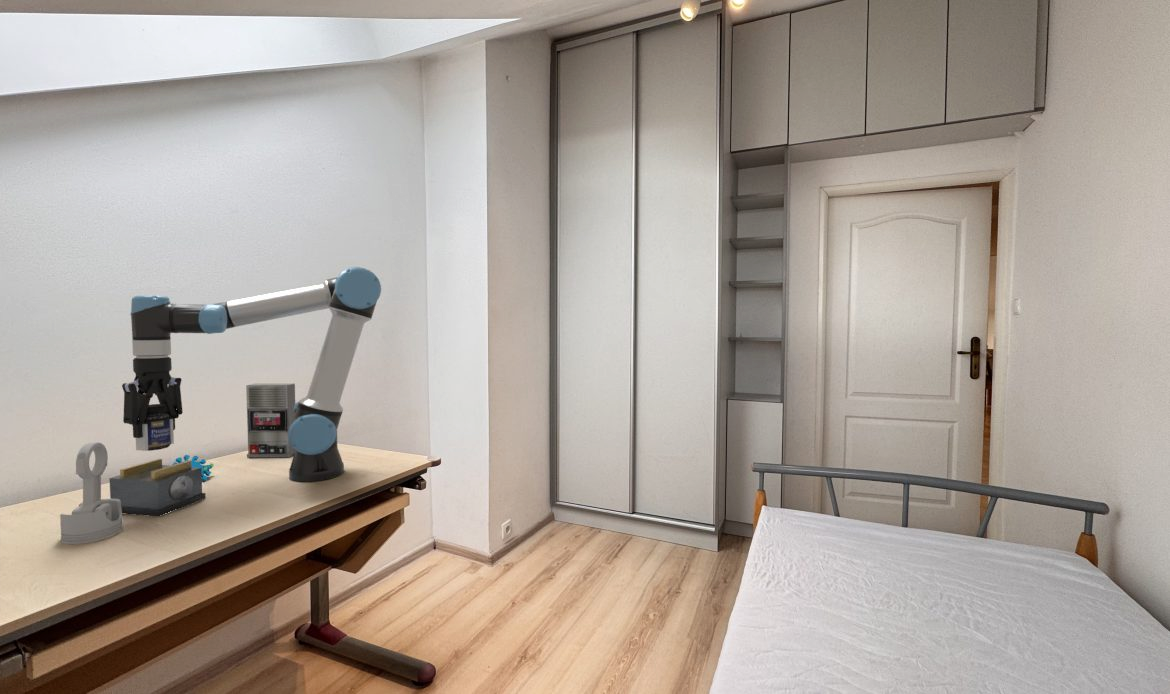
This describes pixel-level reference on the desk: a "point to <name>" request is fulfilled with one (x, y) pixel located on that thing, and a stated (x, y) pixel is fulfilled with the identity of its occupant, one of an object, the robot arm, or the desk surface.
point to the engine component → (91, 502)
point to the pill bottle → (157, 427)
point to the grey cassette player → (270, 419)
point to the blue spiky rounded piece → (197, 465)
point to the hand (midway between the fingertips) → (155, 446)
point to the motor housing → (157, 487)
